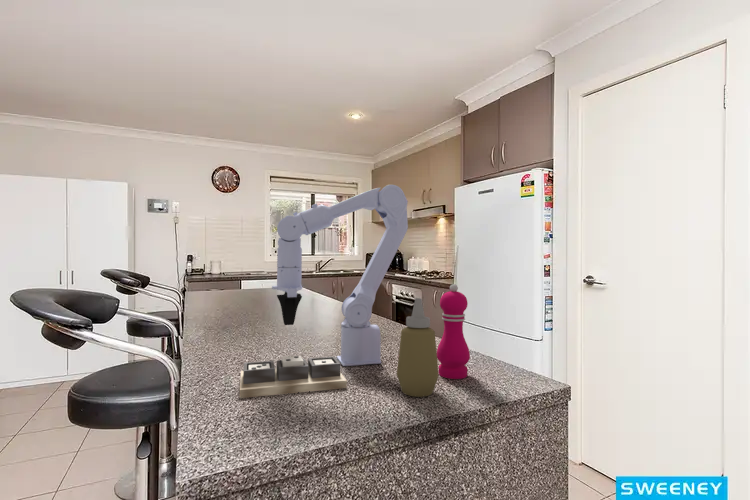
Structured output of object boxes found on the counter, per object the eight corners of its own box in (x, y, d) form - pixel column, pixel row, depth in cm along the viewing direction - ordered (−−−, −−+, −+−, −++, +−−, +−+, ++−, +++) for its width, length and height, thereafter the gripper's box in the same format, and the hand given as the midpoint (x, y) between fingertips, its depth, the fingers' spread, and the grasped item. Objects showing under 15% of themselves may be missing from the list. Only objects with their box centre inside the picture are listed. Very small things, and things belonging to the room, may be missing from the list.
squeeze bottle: (410, 403, 70) (412, 302, 71) (388, 389, 78) (389, 297, 78) (447, 395, 74) (448, 300, 74) (422, 383, 81) (423, 295, 81)
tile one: (331, 368, 85) (331, 358, 85) (335, 373, 81) (335, 363, 81) (312, 369, 84) (312, 359, 84) (315, 375, 80) (315, 364, 80)
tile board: (334, 370, 89) (334, 352, 89) (346, 388, 78) (346, 367, 78) (241, 378, 83) (241, 359, 83) (239, 398, 72) (239, 376, 72)
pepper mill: (433, 370, 90) (433, 282, 91) (463, 369, 91) (464, 283, 91) (440, 380, 83) (441, 285, 83) (474, 379, 84) (475, 285, 84)
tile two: (300, 365, 83) (301, 355, 83) (303, 370, 79) (303, 359, 79) (281, 366, 82) (281, 356, 82) (282, 372, 78) (283, 361, 78)
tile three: (268, 373, 81) (269, 362, 81) (269, 379, 77) (269, 368, 77) (248, 374, 80) (248, 364, 80) (248, 381, 76) (248, 369, 76)
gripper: (270, 266, 100) (270, 320, 100) (273, 268, 86) (273, 331, 86) (298, 266, 102) (298, 319, 102) (306, 268, 88) (305, 329, 88)
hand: (288, 324), depth 94 cm, fingers closed
